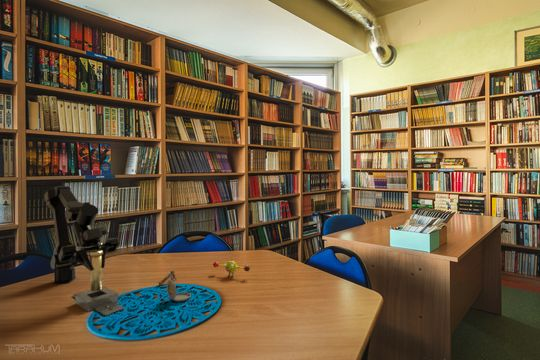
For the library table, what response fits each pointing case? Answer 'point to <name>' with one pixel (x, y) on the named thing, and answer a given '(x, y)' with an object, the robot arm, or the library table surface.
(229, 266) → the toy figure
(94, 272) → the pin
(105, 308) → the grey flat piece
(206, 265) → the library table surface
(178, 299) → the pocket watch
